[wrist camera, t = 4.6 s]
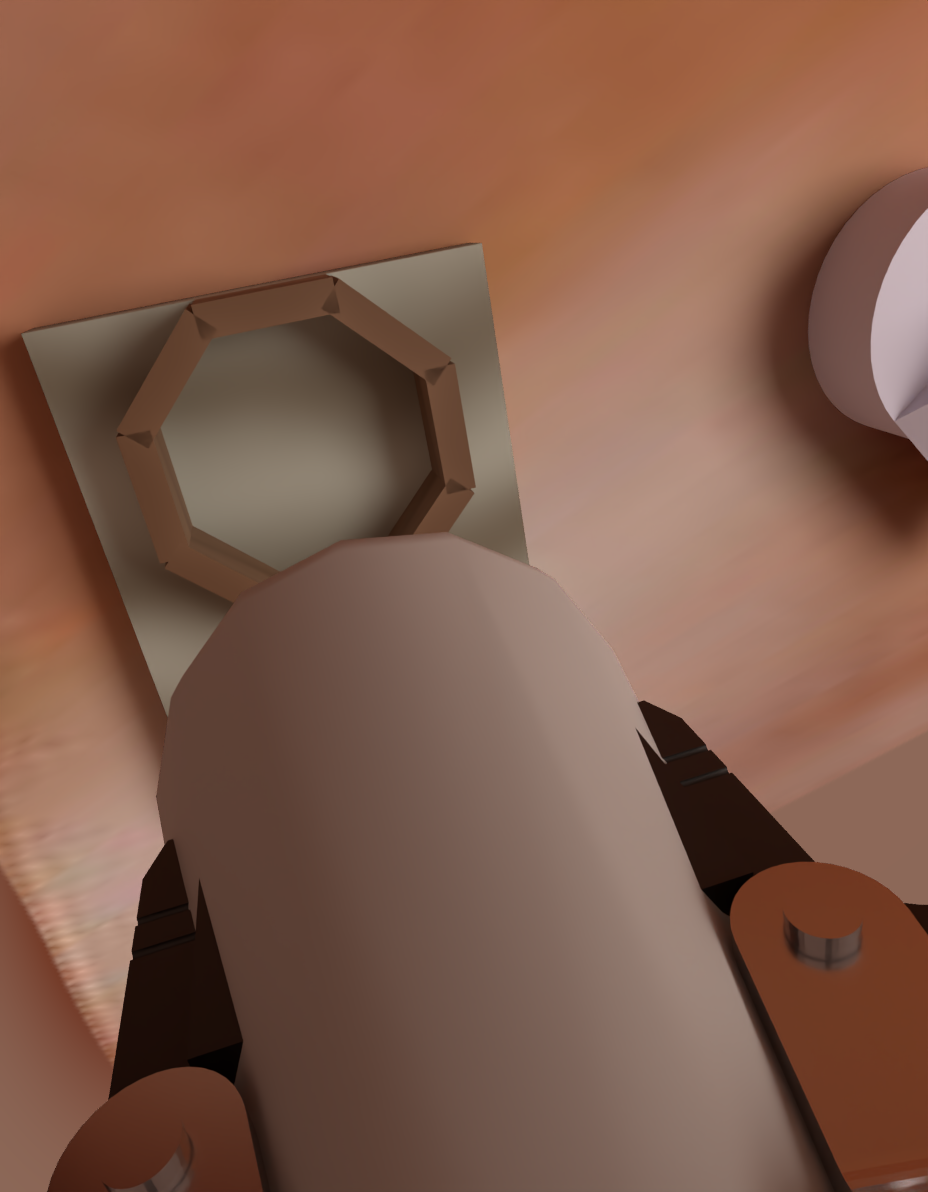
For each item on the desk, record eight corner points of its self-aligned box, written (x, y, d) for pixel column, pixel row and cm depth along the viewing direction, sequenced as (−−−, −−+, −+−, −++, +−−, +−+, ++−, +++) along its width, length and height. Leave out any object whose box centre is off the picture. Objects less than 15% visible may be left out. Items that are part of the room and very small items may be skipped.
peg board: (33, 328, 24) (-23, 353, 19) (469, 242, 26) (524, 244, 21) (209, 797, 31) (203, 907, 26) (539, 703, 33) (594, 788, 28)
